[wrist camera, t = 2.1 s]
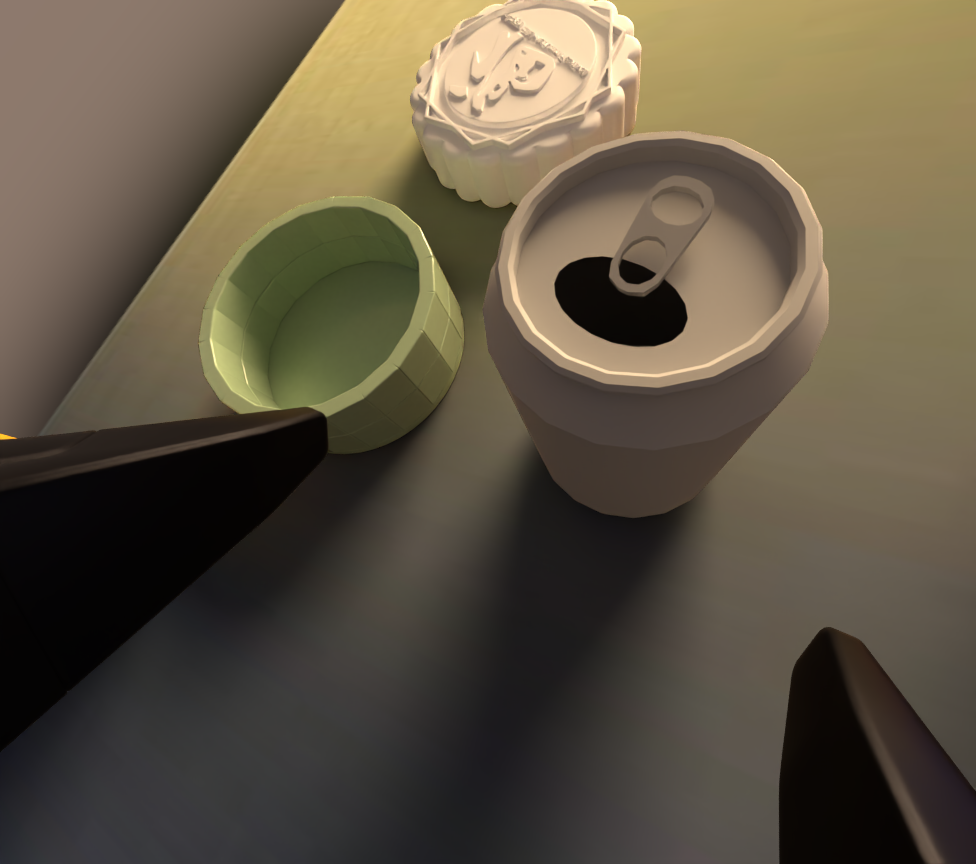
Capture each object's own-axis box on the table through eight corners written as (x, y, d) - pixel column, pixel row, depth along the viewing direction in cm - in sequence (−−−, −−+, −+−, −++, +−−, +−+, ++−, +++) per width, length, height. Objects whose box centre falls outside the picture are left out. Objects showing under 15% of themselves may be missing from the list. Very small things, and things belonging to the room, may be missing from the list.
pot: (382, 496, 22) (329, 473, 18) (226, 396, 26) (154, 359, 22) (506, 298, 24) (484, 236, 20) (342, 233, 28) (295, 170, 24)
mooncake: (393, 135, 30) (366, 78, 26) (549, 19, 30) (541, -53, 26) (502, 250, 25) (486, 198, 22) (687, 112, 25) (699, 38, 22)
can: (505, 455, 21) (395, 306, 10) (601, 326, 22) (593, 61, 11) (657, 560, 19) (726, 509, 8) (759, 407, 19) (955, 162, 8)
